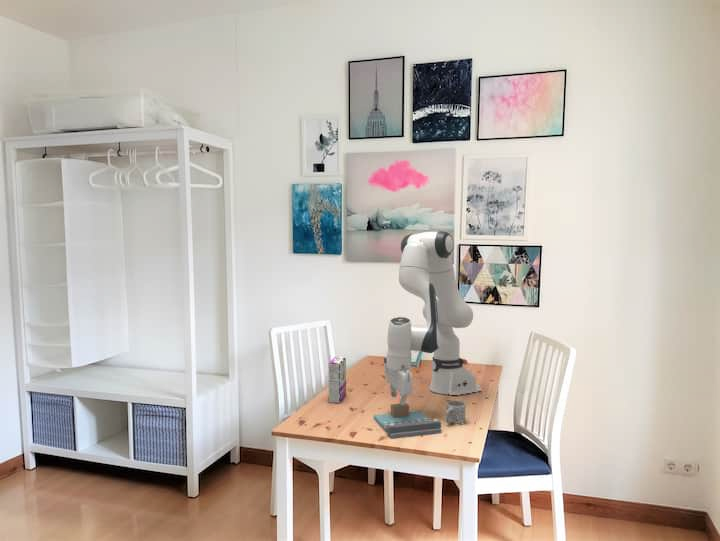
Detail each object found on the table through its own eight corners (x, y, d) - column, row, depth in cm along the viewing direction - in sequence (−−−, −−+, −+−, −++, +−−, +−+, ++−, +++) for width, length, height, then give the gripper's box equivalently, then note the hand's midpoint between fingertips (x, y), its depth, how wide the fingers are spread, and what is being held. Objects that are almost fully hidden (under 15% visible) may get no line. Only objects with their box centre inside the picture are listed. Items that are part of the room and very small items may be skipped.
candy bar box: (334, 394, 224) (334, 356, 223) (346, 395, 223) (346, 356, 222) (327, 403, 213) (328, 362, 212) (340, 403, 212) (340, 363, 211)
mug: (452, 416, 198) (452, 399, 198) (468, 421, 194) (468, 403, 194) (438, 424, 191) (438, 406, 190) (454, 428, 186) (454, 410, 186)
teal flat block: (419, 413, 201) (419, 400, 200) (429, 422, 192) (429, 408, 192) (373, 418, 196) (373, 404, 195) (381, 427, 187) (381, 412, 187)
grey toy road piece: (430, 422, 192) (430, 412, 192) (442, 432, 182) (442, 421, 182) (380, 427, 187) (380, 417, 186) (389, 438, 177) (390, 427, 177)
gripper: (417, 369, 185) (416, 408, 186) (397, 356, 204) (396, 391, 205) (400, 370, 183) (399, 409, 184) (382, 357, 203) (381, 392, 204)
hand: (397, 400), depth 195 cm, fingers open, 8 cm apart
